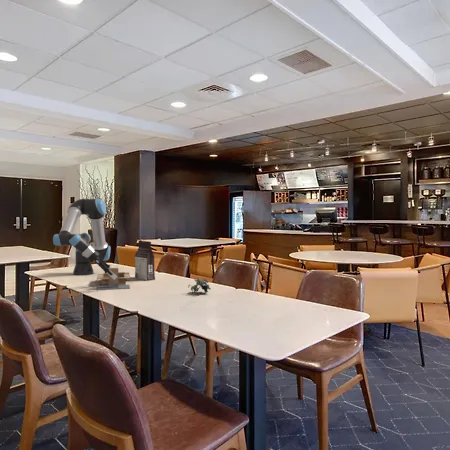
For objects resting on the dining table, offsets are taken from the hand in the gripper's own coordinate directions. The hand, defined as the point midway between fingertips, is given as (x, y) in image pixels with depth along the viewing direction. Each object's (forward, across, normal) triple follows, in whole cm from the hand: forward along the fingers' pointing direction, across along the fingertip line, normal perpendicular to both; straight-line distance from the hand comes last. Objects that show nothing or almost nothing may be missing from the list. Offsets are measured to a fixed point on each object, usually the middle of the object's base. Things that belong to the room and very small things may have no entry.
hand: (115, 276), depth 241 cm
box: (+4, 0, -6) cm, 7 cm away
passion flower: (+40, +32, +29) cm, 58 cm away
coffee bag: (+20, -29, +9) cm, 36 cm away
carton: (+4, -19, -6) cm, 20 cm away
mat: (+4, 0, -6) cm, 7 cm away
